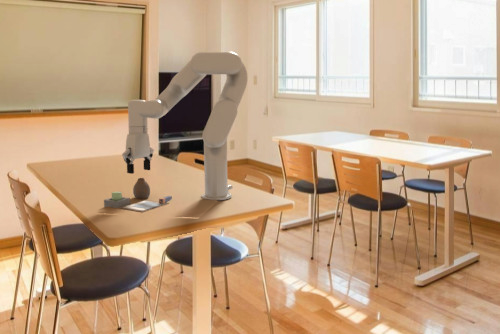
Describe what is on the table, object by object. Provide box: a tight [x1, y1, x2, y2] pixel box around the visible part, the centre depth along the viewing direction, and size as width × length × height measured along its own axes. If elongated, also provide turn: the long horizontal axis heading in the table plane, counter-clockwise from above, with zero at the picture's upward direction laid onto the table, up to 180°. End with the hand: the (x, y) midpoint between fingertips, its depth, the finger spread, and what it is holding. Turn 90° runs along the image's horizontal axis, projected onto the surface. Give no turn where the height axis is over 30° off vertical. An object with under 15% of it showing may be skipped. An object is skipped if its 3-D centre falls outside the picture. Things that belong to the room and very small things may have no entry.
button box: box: [103, 196, 131, 209], centre depth 197 cm, size 7×7×3 cm
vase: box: [132, 177, 151, 200], centre depth 208 cm, size 7×7×9 cm
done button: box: [111, 191, 123, 201], centre depth 196 cm, size 4×4×4 cm
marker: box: [158, 195, 173, 203], centre depth 202 cm, size 10×2×2 cm, turn 169°
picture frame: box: [118, 199, 169, 213], centre depth 195 cm, size 15×12×1 cm
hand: (138, 171), depth 207 cm, fingers open, 9 cm apart
